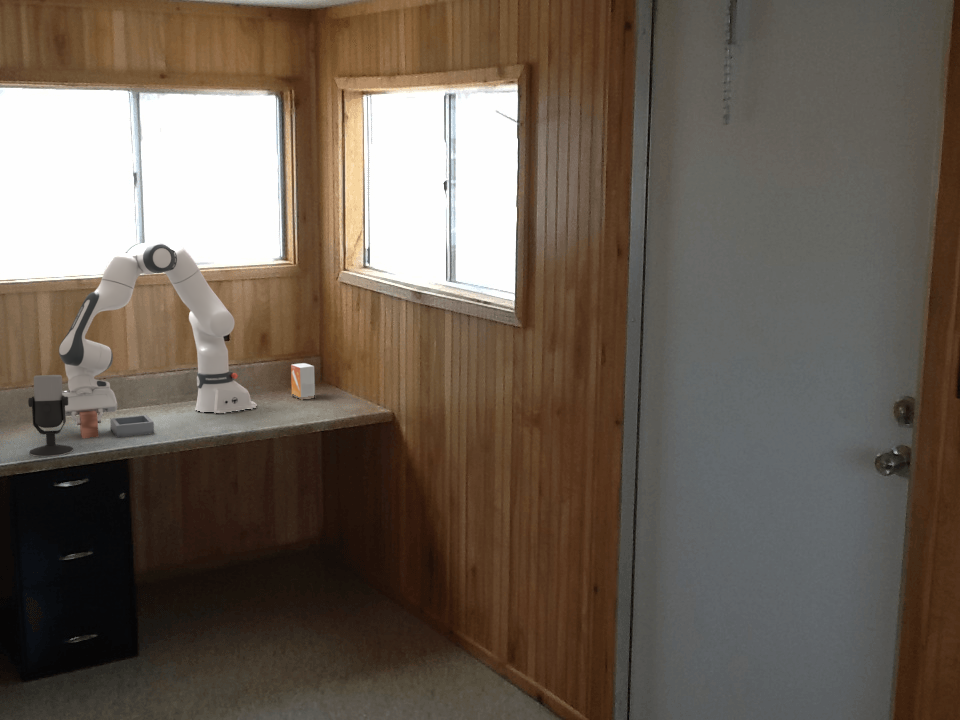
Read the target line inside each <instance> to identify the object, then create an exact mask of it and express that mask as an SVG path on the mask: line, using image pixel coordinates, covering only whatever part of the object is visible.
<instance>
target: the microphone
mask: <svg viewBox="0 0 960 720" xmlns="http://www.w3.org/2000/svg"><path fill="white" fill-rule="evenodd" d="M33 390H34V391H33V395H32V396H31V397H29V398H28V401H27V403H28V407H30V408H31V415H32V426H33V427H34V428H35V429H36V431H38V433H39V434H40V435H45V441H46V444H45V445H41V446H39V447H35V448H32V449H31V450H30V451H29V455H30V454H31V455H30V456H32V455H33V456H32V457H36V456H54V457H60V456H59V455H61V456H65V455H68V453H69V454H71V453H72V452H74V448H73V446H71V445H64V444H57V443H56V435H57V434H60V432H61V431H62V429H63V428H64V425H65V424H66V420H67V418H66V417H67V416H65V406H67V405H68V397H64V395H63V394H62V391H63V376H62V375H61V374H48V375H45V374H44V375H41V374H40V375H34V376H33ZM60 425H61V428H60V429H58V430H43V428H44V429H47V428H48V429H49V428H50V429H51V428H57V427H59V426H60ZM70 452H71V453H70ZM64 454H65V455H64Z"/></svg>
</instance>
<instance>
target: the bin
mask: <svg viewBox="0 0 960 720" xmlns="http://www.w3.org/2000/svg"><path fill="white" fill-rule="evenodd" d="M109 421H110V422H109V423H110V431H111V432H112V433H113V435H114V436H115V437H116V438H123V437H124V438H125V437H134V436H133V435H136V436H142V435H141V434H145V435H150V434H149V433H154V434H155V423H154V421H153V420H152V418H150V417H149V416H148V415H147V414H143V415H142V414H141V415H131V416H129V415H128V416H122V417H121V416H120V417H111V418H110V419H109Z"/></svg>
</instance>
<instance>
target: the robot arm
mask: <svg viewBox="0 0 960 720" xmlns="http://www.w3.org/2000/svg"><path fill="white" fill-rule="evenodd" d="M142 274H144V275H154V274H165V275H166V276H167V278H168V280H169V281H170V284H171V285H172V286H173V288H174V290H175V292H176V293H177V295H178V296H179V298H180V300H181V301H182V303H183V304H184V305H185V306H186V307H187V308H188V309H189V311H190V312H189V315H188V321H189V323H190V326H191V328H192V333H193V338H194V341H195V342H194V343H195V349H196V353H197V354H196V355H197V372H196V386H197V398H196V399H197V400H196V404H195V408H194V411H196V410H197V411H196V412H198V411H200V412H199V413H204V412H214V413H213V414H216V413H224V412H230V411H236V410H242V409H247V408H254V407H256V406H257V407H258V405H257V403H256V402H255V401H253V400H252V399H251V395H250V393H249V391H248V389H247V388H245V387H244V386H242V385H241V384H240V383H238V382H237V381H235V380H236V379H237V378H238V377H239V375H238V374H237V372H233V371H231V370H229V369H230V368H229V350H228V347H227V345H226V342H225V338H224V337H226V336H228V335H230V333H232V332H233V330H234V328H235V318H234V316H233V314H232V313H231V312H230V311H229V310H228V309H227V307H226V306H225V304H224V303H223V302H222V300H221V299H220V298H219V297H218V295H216V293H215V292H214V291H213V289H212V287H211V286H210V285H209V284H208V281H207V280H206V278H205V276H204V275H203V273H202V272H201V270H200V268H199V266H198V265H197V263H196V261H195V260H194V259H193V258H192V256H191V255H190V254H189V252H187V250H186V249H185V248H184V247H182V246H172V247H169V246H168V245H166V244H164V243H161V242H149V241H148V242H144V243H137V244H136V243H135V245H132V246H131V247H130V248H129V249H127V251H126V252H125V253H123V252H120V253H118V252H117V253H115V254H114V255H112V256H111V257H110V259H109V261H108V264H107V265H106V268H105V269H104V272H103V273H102V277H101V281H100V283H99V285H98V287H96V289H95V290H94V291H92V292H90V293H88V294H87V296H86V297H85V299H84V300H83V301H82V304H81V306H80V308H79V310H78V312H77V314H76V316H75V318H74V320H73V322H72V324H71V326H70V327H69V330H68V332H67V333H66V335H65V336H64V338H63V339H62V341H61V342H60V344H59V346H58V355H59V358H60V360H61V361H62V363H64V369H65V370H64V371H65V374H66V377H67V379H68V381H67V386H68V390H62V394H63V395H64V397H68V405H67V406H65V416H66V417H70V418H71V419H72V420H73V421H74V422H75V426H80V425H81V418H80V417H79V418H78V417H77V416H80V415H79V412H86V411H95V412H96V413H97V419H98V424H101V423H102V417H103V415H104V413H113V412H116V411H117V409H118V401H117V398H116V394H115V391H114V390H112V388H111V383H110V382H109V381H106V380H99V379H97V378H95V377H96V376H100V375H101V374H102V373H104V372H106V371H107V370H108V369H109V368H111V366H112V365H113V360H114V355H113V351H112V349H111V347H110V346H108V345H105V344H103V343H100V342H96V341H93V340H91V339H86V335H87V332H88V330H89V328H90V326H91V325H92V322H93V320H94V318H95V316H97V315H98V314H100V312H101V313H102V312H105V311H115V310H119V309H120V310H121V309H122V308H124V307H125V306H127V305H128V304H129V302H130V301H131V298H132V296H133V293H134V289H135V286H136V282H137V280H138V278H139V276H140V275H142ZM224 414H225V413H224Z"/></svg>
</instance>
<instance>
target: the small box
mask: <svg viewBox="0 0 960 720" xmlns="http://www.w3.org/2000/svg"><path fill="white" fill-rule="evenodd" d="M290 371H291V373H290V374H291V378H290V380H291V381H290V382H291V383H290V384H291V395H292V394H294V395H296V396H298V397H308V396H314V395H315V396H316V388H315V387H316V384H315V382H316V381H315V365H311V364H309V363H306V362H302V363H294V364H293V363H292V364H291V365H290Z"/></svg>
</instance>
